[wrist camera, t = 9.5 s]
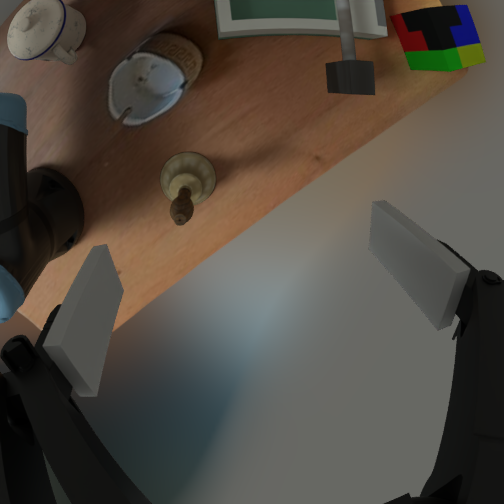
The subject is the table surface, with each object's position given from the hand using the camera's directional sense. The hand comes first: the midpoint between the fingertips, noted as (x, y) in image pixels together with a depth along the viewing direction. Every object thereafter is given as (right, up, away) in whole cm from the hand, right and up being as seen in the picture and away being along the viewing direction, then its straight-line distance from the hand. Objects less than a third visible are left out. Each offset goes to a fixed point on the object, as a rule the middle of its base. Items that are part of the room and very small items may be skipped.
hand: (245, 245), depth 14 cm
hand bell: (-9, +10, +30) cm, 33 cm away
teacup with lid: (-27, +30, +15) cm, 43 cm away
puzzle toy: (+29, +36, +22) cm, 51 cm away
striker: (+9, +35, +16) cm, 40 cm away
